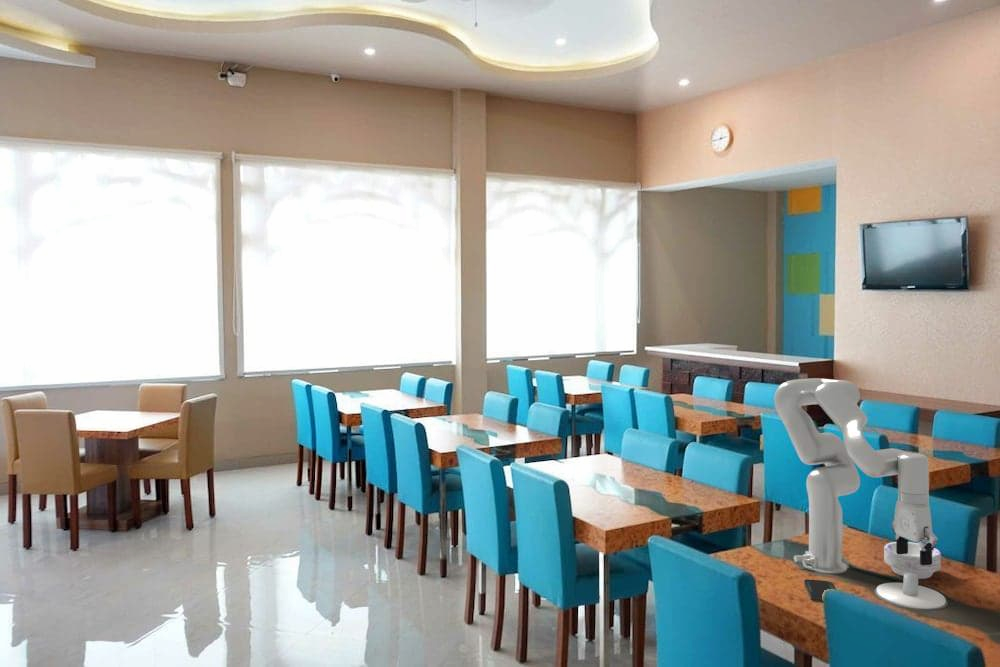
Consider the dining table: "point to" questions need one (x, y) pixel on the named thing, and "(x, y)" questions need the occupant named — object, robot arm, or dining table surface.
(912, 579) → the lid
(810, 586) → the phone
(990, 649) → the dining table surface
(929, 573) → the paper bowls
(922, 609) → the mat
